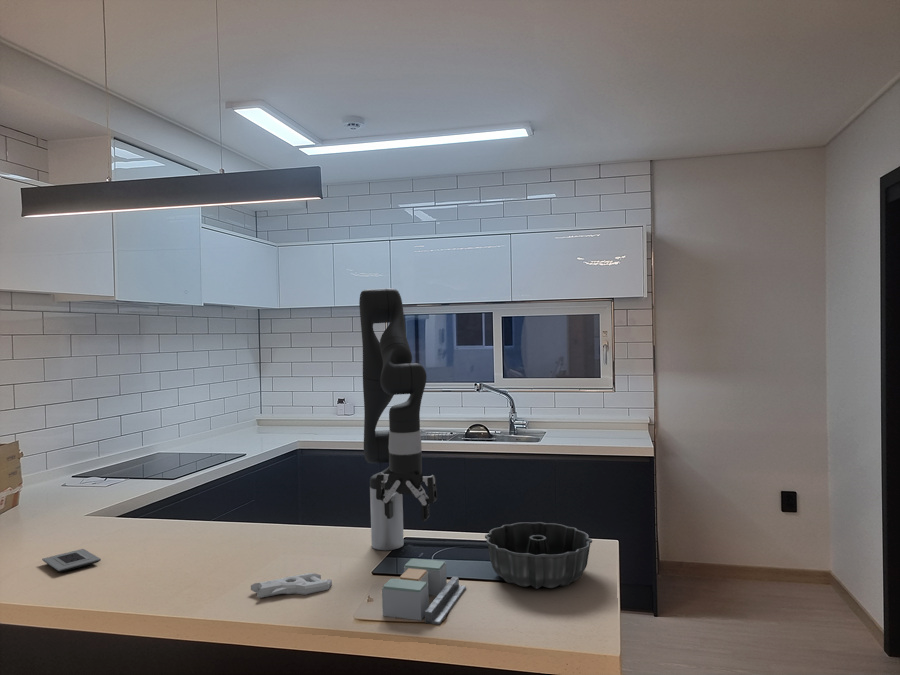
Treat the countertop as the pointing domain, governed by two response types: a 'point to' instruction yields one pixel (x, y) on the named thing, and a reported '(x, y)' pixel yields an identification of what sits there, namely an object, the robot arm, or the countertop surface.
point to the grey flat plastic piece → (292, 585)
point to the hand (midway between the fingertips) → (407, 519)
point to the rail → (444, 601)
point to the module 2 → (405, 599)
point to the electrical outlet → (71, 560)
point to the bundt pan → (538, 553)
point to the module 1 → (415, 575)
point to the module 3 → (431, 573)
